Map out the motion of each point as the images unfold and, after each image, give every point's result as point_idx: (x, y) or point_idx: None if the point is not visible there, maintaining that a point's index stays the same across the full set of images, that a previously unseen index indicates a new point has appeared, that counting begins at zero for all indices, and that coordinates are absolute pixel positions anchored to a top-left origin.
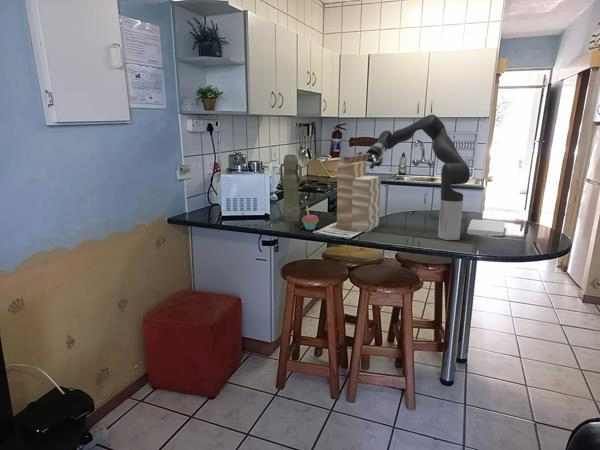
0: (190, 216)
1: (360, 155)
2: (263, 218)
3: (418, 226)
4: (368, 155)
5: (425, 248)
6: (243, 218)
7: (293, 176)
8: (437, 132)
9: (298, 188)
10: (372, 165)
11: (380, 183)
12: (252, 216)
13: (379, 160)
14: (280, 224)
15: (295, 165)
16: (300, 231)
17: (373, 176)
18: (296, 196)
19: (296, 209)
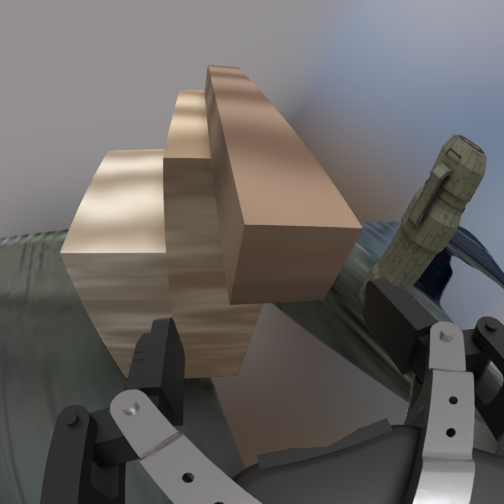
0: (467, 238)
1: (217, 99)
2: (420, 280)
3: (19, 411)
4: (406, 498)
5: (18, 238)
6: (433, 263)
7: (420, 190)
8: None
9: (407, 235)
10: (148, 340)
11: (73, 283)
12: (443, 282)
13: (70, 471)
14: (356, 259)
15: (439, 163)
16: None
17: (102, 232)
18: (393, 248)
19: (372, 272)
